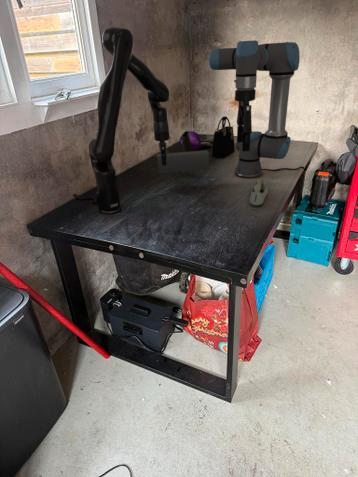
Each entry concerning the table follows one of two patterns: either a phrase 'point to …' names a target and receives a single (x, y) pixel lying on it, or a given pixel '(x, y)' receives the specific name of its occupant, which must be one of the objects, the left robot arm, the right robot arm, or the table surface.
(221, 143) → the handbag
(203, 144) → the pair of gloves
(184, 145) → the boot
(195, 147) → the decorative orb
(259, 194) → the ballet flat
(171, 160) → the bar
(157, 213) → the table surface
